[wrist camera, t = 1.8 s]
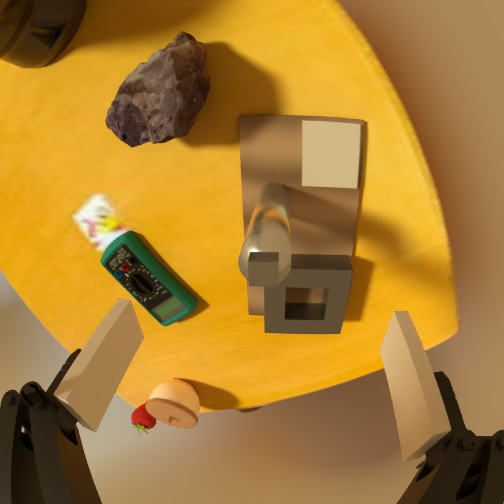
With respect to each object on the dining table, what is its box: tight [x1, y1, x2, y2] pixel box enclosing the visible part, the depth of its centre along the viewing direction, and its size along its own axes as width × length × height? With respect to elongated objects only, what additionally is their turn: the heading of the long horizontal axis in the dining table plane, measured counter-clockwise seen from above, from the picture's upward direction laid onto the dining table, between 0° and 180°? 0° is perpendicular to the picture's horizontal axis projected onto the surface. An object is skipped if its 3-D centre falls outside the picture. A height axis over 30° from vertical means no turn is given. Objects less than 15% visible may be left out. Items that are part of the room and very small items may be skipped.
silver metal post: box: [239, 182, 291, 287], centre depth 23 cm, size 3×3×15 cm
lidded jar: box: [145, 379, 200, 428], centre depth 48 cm, size 11×11×9 cm
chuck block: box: [264, 254, 353, 334], centre depth 34 cm, size 10×10×3 cm
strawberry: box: [131, 402, 156, 433], centre depth 54 cm, size 6×8×10 cm
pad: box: [302, 120, 361, 189], centre depth 27 cm, size 7×6×1 cm
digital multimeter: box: [100, 231, 197, 326], centre depth 38 cm, size 7×15×3 cm, turn 38°
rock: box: [105, 31, 210, 147], centre depth 22 cm, size 12×9×10 cm
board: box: [239, 115, 364, 316], centre depth 32 cm, size 26×13×1 cm, turn 2°
